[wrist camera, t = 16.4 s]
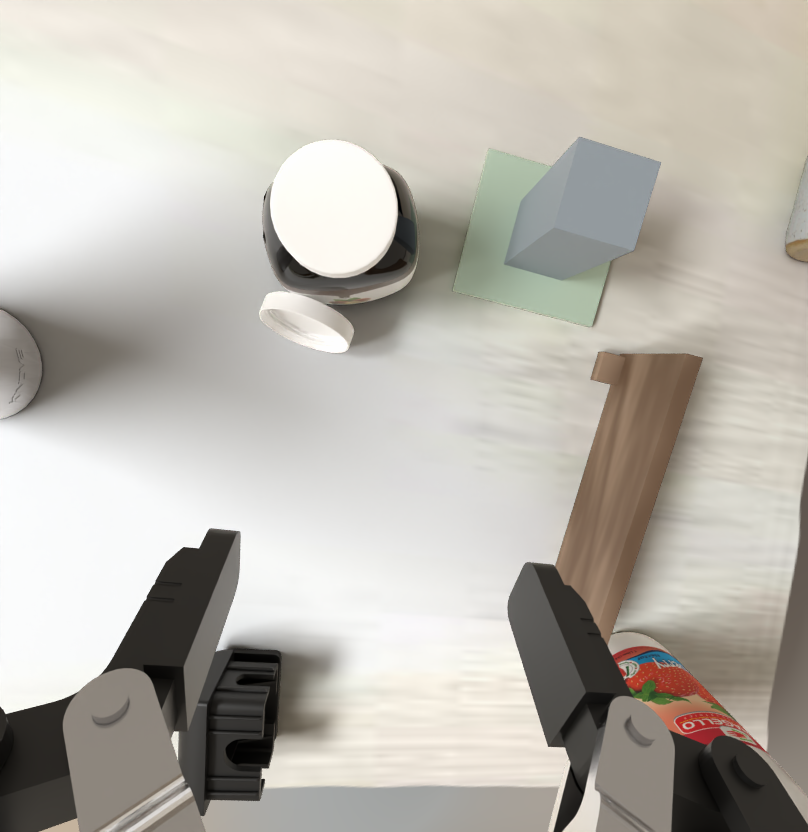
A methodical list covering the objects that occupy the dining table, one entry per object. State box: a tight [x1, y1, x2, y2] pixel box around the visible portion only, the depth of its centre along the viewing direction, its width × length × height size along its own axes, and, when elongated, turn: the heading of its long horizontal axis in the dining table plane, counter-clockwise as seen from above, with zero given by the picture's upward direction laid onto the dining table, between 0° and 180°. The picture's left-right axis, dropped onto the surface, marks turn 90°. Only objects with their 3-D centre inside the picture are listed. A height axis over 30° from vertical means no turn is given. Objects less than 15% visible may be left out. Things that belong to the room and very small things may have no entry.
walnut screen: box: [555, 352, 703, 646], centre depth 34 cm, size 5×26×8 cm, turn 166°
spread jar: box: [259, 140, 419, 353], centre depth 29 cm, size 12×11×12 cm
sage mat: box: [453, 148, 611, 327], centre depth 34 cm, size 12×11×1 cm
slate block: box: [504, 137, 661, 281], centre depth 29 cm, size 5×5×10 cm
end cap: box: [178, 649, 281, 816], centre depth 36 cm, size 10×7×7 cm
